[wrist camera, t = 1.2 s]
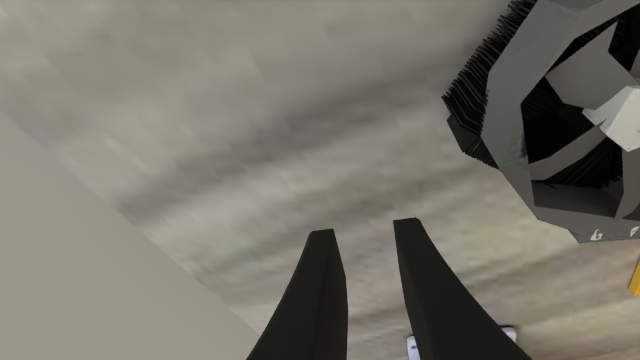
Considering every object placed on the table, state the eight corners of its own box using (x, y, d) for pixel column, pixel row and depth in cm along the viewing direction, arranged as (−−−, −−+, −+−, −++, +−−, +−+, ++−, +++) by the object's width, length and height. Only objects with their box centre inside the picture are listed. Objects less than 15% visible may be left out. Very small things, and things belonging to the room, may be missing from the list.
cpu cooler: (727, -153, 8) (960, 55, 11) (585, -130, 13) (769, 11, 15) (440, 184, 14) (635, 272, 16) (413, 115, 18) (567, 191, 21)
